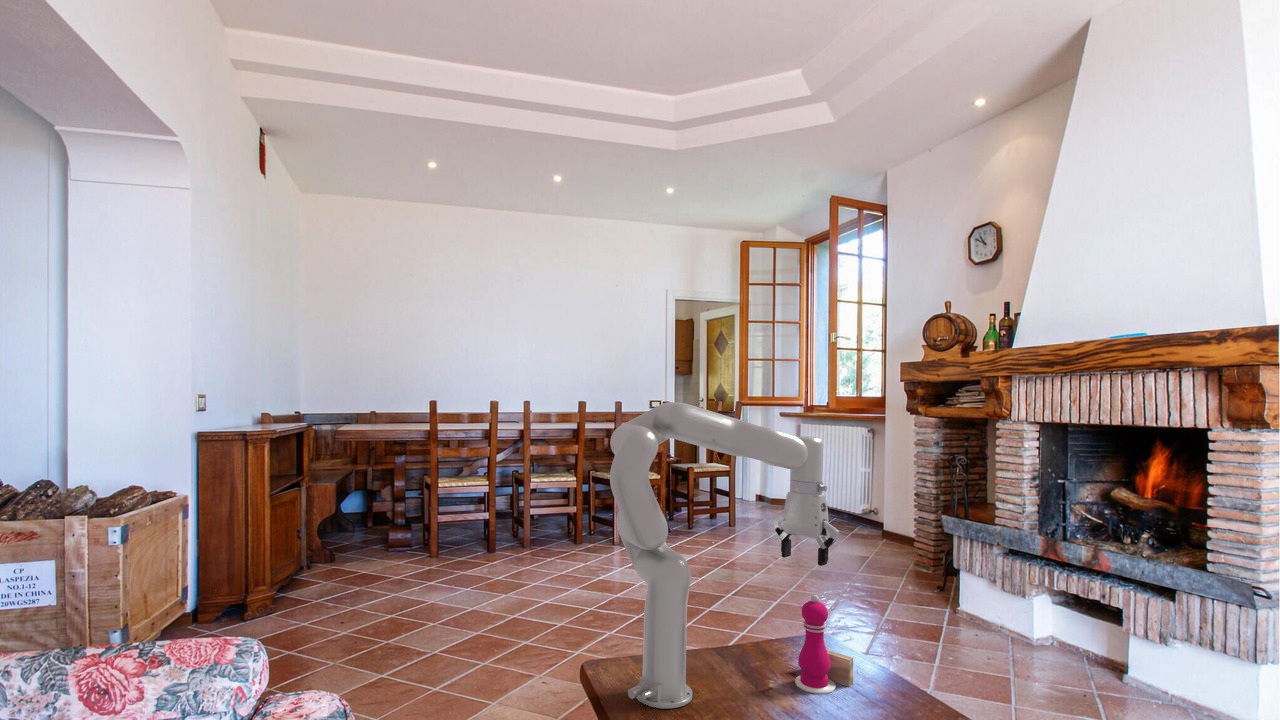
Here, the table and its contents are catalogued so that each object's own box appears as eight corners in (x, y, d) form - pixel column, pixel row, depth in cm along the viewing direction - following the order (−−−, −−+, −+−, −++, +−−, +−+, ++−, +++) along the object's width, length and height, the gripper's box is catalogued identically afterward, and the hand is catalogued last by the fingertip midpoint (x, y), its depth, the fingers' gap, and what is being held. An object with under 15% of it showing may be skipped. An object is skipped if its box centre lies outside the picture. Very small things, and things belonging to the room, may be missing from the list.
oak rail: (849, 686, 150) (849, 660, 151) (802, 671, 158) (802, 645, 159) (853, 684, 152) (853, 657, 152) (806, 668, 160) (806, 643, 160)
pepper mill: (818, 692, 146) (818, 601, 147) (791, 681, 151) (792, 593, 152) (836, 684, 150) (837, 595, 151) (810, 673, 156) (811, 588, 157)
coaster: (824, 697, 144) (824, 695, 144) (788, 685, 150) (788, 682, 150) (842, 685, 151) (842, 682, 151) (806, 673, 157) (806, 671, 157)
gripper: (846, 491, 153) (845, 565, 152) (783, 483, 165) (781, 551, 164) (831, 494, 147) (829, 570, 146) (766, 484, 160) (764, 555, 158)
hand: (803, 560), depth 155 cm, fingers open, 9 cm apart
